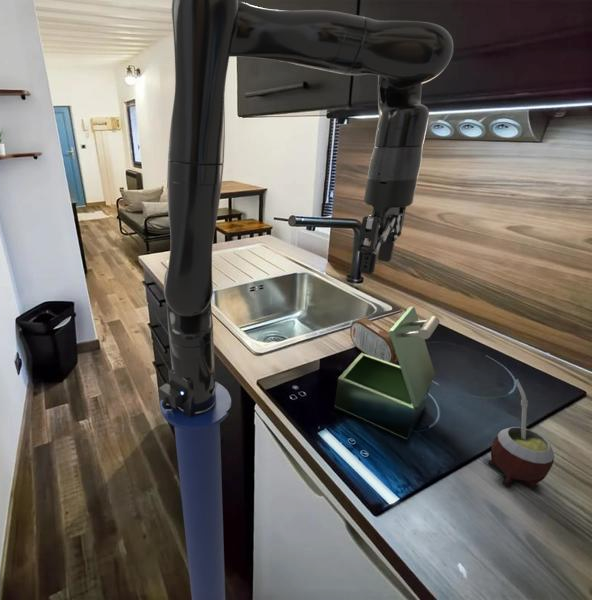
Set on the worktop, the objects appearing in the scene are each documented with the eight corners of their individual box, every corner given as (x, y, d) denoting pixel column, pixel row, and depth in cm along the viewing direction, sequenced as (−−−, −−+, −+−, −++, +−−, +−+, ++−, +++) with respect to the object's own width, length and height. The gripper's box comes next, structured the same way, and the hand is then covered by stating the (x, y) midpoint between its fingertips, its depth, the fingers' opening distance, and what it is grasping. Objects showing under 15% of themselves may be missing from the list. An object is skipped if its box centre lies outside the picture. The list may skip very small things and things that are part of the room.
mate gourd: (532, 503, 55) (570, 428, 48) (471, 468, 61) (498, 398, 54) (546, 476, 59) (584, 404, 52) (488, 446, 64) (515, 378, 58)
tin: (399, 371, 85) (406, 340, 81) (388, 374, 84) (395, 343, 80) (356, 339, 98) (360, 312, 94) (345, 342, 97) (350, 314, 94)
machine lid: (388, 331, 61) (421, 328, 58) (409, 306, 69) (440, 303, 65) (412, 406, 63) (446, 409, 59) (430, 375, 70) (461, 375, 67)
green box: (333, 408, 75) (338, 378, 72) (356, 381, 82) (361, 352, 79) (406, 442, 66) (414, 409, 63) (424, 408, 74) (432, 377, 70)
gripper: (384, 170, 68) (369, 253, 75) (352, 179, 59) (338, 272, 66) (430, 171, 63) (410, 260, 70) (402, 181, 54) (382, 283, 61)
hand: (375, 266), depth 68 cm, fingers open, 8 cm apart
